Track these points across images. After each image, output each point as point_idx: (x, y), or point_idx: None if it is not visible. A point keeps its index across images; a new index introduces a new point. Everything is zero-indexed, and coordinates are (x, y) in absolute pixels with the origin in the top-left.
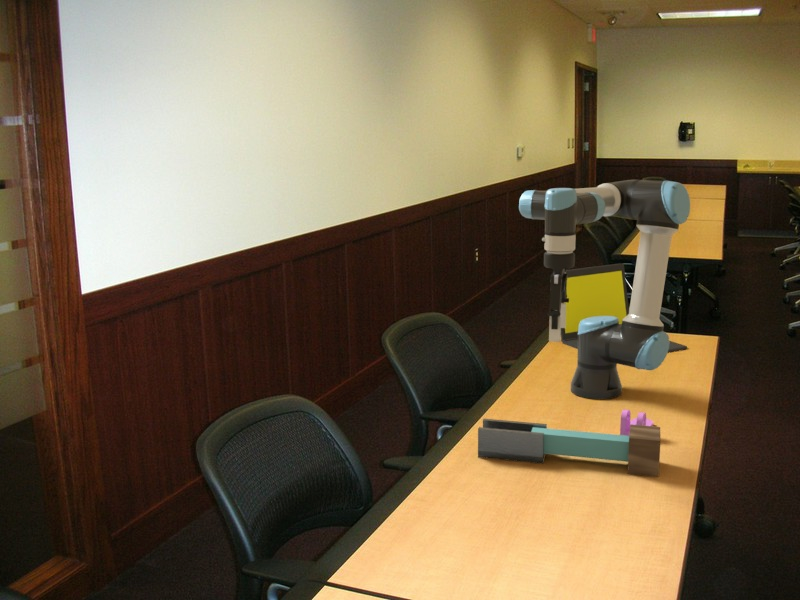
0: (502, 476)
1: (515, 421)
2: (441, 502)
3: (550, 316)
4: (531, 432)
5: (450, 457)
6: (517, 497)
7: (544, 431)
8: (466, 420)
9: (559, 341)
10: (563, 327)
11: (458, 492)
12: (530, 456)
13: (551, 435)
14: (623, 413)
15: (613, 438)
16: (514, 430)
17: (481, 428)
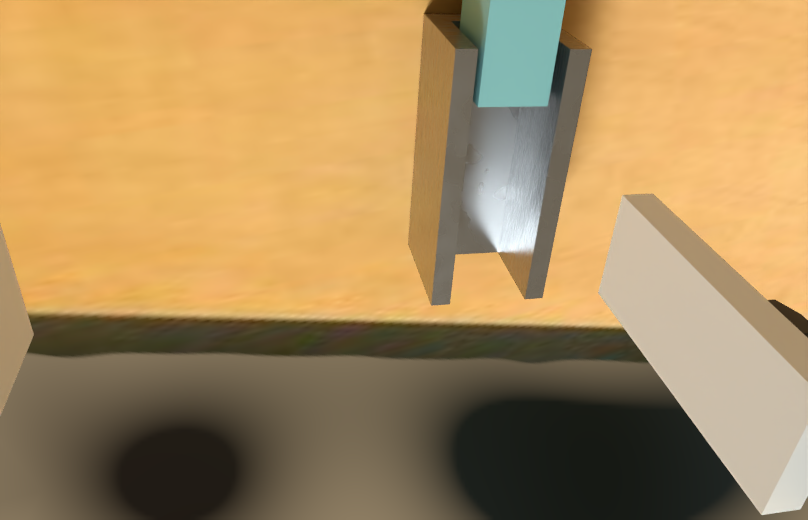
0: (649, 137)
1: (444, 188)
2: (800, 253)
3: (797, 489)
4: (566, 103)
5: (515, 309)
6: (799, 65)
7: (524, 48)
8: (177, 349)
9: (654, 200)
10: (4, 247)
11: (748, 230)
12: None
13: (562, 10)
14: None
15: None
16: (547, 174)
17: (537, 288)
